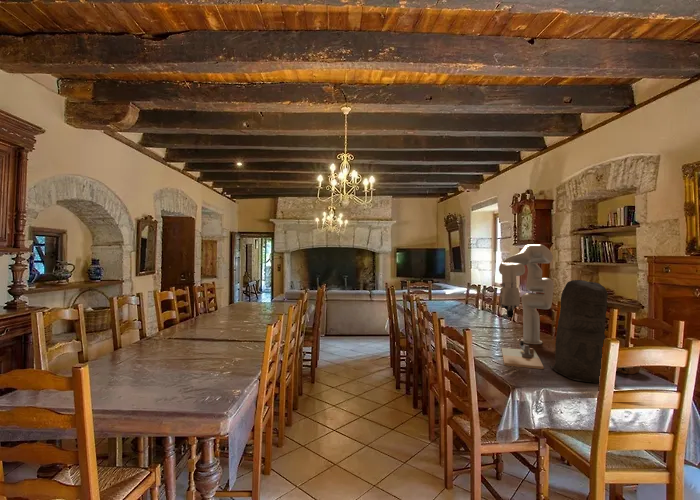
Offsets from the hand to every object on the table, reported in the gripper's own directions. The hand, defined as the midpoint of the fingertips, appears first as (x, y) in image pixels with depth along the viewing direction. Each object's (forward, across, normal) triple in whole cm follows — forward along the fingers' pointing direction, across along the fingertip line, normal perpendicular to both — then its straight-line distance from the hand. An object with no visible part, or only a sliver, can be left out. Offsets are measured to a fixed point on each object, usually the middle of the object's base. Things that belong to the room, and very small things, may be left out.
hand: (510, 316), depth 216 cm
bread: (+21, +35, -34) cm, 53 cm away
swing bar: (+17, +4, -7) cm, 19 cm away
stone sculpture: (+20, +12, -44) cm, 49 cm away
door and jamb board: (+20, -1, -13) cm, 24 cm away
